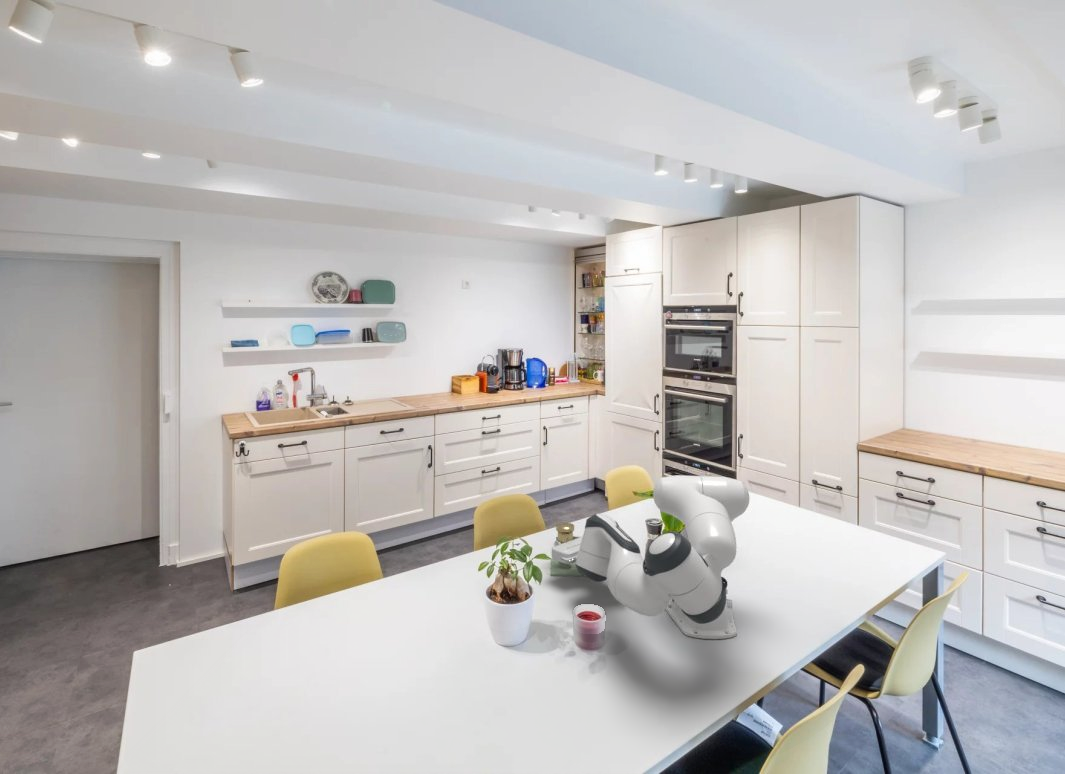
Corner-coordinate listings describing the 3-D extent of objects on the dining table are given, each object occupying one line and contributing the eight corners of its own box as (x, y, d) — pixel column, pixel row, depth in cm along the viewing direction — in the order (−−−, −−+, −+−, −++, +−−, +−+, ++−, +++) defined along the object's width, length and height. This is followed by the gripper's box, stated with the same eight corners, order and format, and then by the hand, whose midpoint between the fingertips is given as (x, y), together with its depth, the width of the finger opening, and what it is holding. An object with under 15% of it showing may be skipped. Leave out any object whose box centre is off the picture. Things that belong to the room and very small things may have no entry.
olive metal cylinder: (574, 564, 179) (574, 529, 178) (556, 564, 179) (556, 529, 178) (573, 557, 185) (573, 522, 184) (556, 557, 185) (556, 522, 184)
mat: (581, 576, 176) (581, 574, 176) (550, 576, 177) (550, 574, 177) (579, 559, 188) (579, 558, 188) (550, 559, 189) (550, 558, 189)
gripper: (569, 572, 165) (539, 557, 176) (614, 554, 178) (584, 541, 189) (569, 553, 164) (539, 539, 175) (615, 535, 177) (585, 523, 188)
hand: (563, 540), depth 182 cm, fingers closed on olive metal cylinder, 5 cm apart
